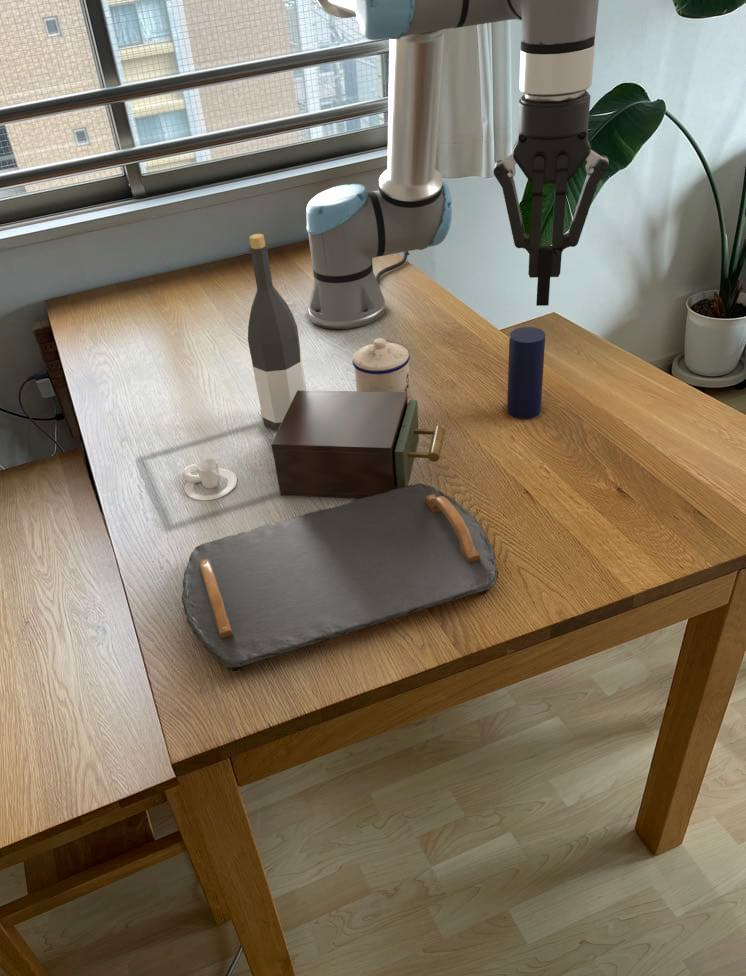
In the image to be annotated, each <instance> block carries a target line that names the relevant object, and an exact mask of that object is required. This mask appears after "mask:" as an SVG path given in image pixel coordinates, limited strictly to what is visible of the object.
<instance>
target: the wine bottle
mask: <svg viewBox="0 0 746 976" xmlns="http://www.w3.org/2000/svg"><path fill="white" fill-rule="evenodd" d="M249 243H250V245H249V252H250V256H251V261H252V262H251V263H252V267H253V272H254V273H253V274H254V278H255V284H256V292H255V294H254V298H253V301H252V304H251V307H250V314H249V320H248V326H247V343H248V349H249V353H250V358H251V365H252V369H253V374H254V381H255V385H256V390H257V395H258V402H259V405H260V413H261V417H262V422H263V425H264V426H265V427H268V428H270V429H271V430H274V431H276V432H277V431H278V429H279V427H280V425H281V423H282V421H283V419H284V417H285V415H286V413H287V411H288V409H289V407H290V405H291V403H292V400H293V398H294V396H295V394H296V392H297V391H298V390H300V391H307V386H306V378H305V371H304V365H303V357H302V351H301V343H300V337H299V330H298V324H297V322H296V320H295V316H294V315H293V312H292V311H291V309H290V307H289V305H288V304H287V302H286V300H285V299H284V298H283V297H282V296H281V294H280V293H279V292H278V290H277V289H276V287H275V286H274V285H273V284H274V283H273V278H272V272H271V266H270V265H271V264H270V261H269V260H270V259H269V254H268V253H269V252H268V244H267V243H266V241H265V236H264V234H263V233H254V234H251V235H250V236H249Z"/></svg>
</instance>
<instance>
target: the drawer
mask: <svg viewBox="0 0 746 976" xmlns="http://www.w3.org/2000/svg"><path fill="white" fill-rule="evenodd" d="M418 409H419V408H418V400H417V399H410V400H409V402H408V406H407V409H406V413H405V416H404V420H403V423H402V427H401V430H400V425H399V428H398V432H397V435H396V439H395V442H394V446H393V449H392V452H393V466H394V464H395V465H396V479H397V489H399V488H403V487H406V486H409V481H410V478H411V473H412V469H413V465H414V461H415V459H418V458H419V459H428V460H429V462H432V463H437V462H438V461H439V460H440V458H441V453H442V448H443V444H444V437H445V433H446V429H445V427H444V426H443V425H436V426H435V427H434V429H433V428H419V410H418ZM420 435H432V437H431V441H430V446H429V450H428V451H418V446H419V441H420Z"/></svg>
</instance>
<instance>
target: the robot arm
mask: <svg viewBox="0 0 746 976" xmlns="http://www.w3.org/2000/svg"><path fill="white" fill-rule="evenodd" d="M314 2H315V3H316V4H317V6H318V7H319V8H320V9H321V10H323V11H324V12H325V13H327V14H328V15H331V16H332V17H333V16H334V17H336V18H339V19H349V18H356V21H357V24H358V26H359V28H360V32H361V34H362V35H363V36H364V37H365V38H366V39H367V40H369V41H379V40H389V43H388V45H389V49H388V50H389V51H388V52H389V53H388V106H387V107H388V109H387V110H388V111H387V113H388V114H387V115H388V116H387V118H388V119H387V168H386V169H385V170H384V171H383V172H382V173H381V174H380V176H379V178H378V189H377V190H371V191H368V189H367V188H366V187H365V186H364V185H363V184H359V183H351V184H348V183H347V184H340V185H336V186H333V187H330V188H327V189H325V190H323V191H321V192H319V193H317V194H316V195H314V196H313V197H312V198H311V199H310V200H309V201H308V203H307V205H306V211H305V215H306V229H305V230H306V232H307V233H308V234H307V235H308V241H309V242H308V243H309V250H310V257H311V258H310V259H311V266H312V275H313V282H312V287H311V293H310V297H309V303H308V316H309V319H310V322H312V323H313V324H314V325H316V326H318V327H320V328H324V329H330V330H349V329H356V328H360V327H364V326H368V325H370V324H373V323H374V322H376V321H378V320H379V319H380V318H381V317H383V316H384V314H385V312H386V302H385V297H384V295H383V292H382V290H381V287H380V285H379V280H380V278H381V277H382V275H384V274H385V273H387V272H390V271H392V270H395V269H397V268H399V267H401V266H403V265H404V264H405V263H406V262H407V259H408V256H409V255H410V251H416V250H419V251H423V250H425V249H428V248H430V247H435V246H438V245H439V244H442V243H443V242H444V240H445V239H447V236H448V234H449V231H450V228H451V224H452V218H453V208H452V202H453V201H452V195H451V191H450V188H449V186H448V184H447V182H446V181H445V180H443V177H442V175H441V173H440V172H439V171H438V170H437V169H436V163H437V148H438V147H437V146H438V132H439V131H438V130H439V117H440V116H439V115H440V104H441V103H440V101H441V88H442V72H443V56H444V43H445V32H446V31H448V30H450V29H457V28H463V27H464V28H465V27H472V26H478V25H484V24H491V23H498V22H504V21H512V20H517V21H521V34H520V35H521V37H520V39H521V42H520V52H519V53H520V55H519V57H520V58H519V59H520V60H519V86H518V87H519V91H520V92H521V94H523V95H522V96H521V97H520V99H518V118H517V119H518V121H517V126H518V127H517V139H516V141H515V144H514V145H513V149H512V153H511V154H510V155H508V156H507V157H505V158H504V159H499V160H497V161H496V162H495V163H494V168H493V176H494V177H495V178H496V180H497V182H498V183H499V185H500V187H501V189H502V193H503V198H504V201H505V206H506V212H507V216H508V220H509V225H510V231H511V235H512V239H513V244H514V246H515V248H516V249H523V250H526V251H527V252H528V272H527V273H528V274H527V275H528V276H529V278H531V279H532V278H536V279H537V284H536V301H535V303H536V307H538V306H539V307H540V306H541V307H542V306H543V307H544V306H549V303H550V288H551V278H559V276H560V274H561V269H562V257H563V256H562V254H563V252H564V250H566V249H567V248H569V247H570V248H574V247H577V245H578V244H579V241H580V239H581V235H582V233H583V230H584V226H585V223H586V220H587V217H588V214H589V211H590V209H591V205H592V203H593V199H594V197H595V193H596V191H597V187H598V184H599V183H600V181H601V180H602V179H603V177H604V176H605V174H606V173H607V172H608V170H609V169H610V164H609V158H608V156H607V155H604V154H602V155H600V154H599V153H598V152H596V151H595V150H592V144H591V141H590V139H589V136H588V133H589V132H588V130H589V119H590V118H589V117H590V109H591V108H590V107H591V95H590V93H589V91H587V90H588V89H589V88H590V87H591V86H592V83H593V70H594V59H595V50H596V49H595V48H596V47H595V46H596V43H595V40H596V32H597V21H598V11H599V2H600V0H314ZM585 161H586V165H585V173H586V176H585V180H584V182H583V185H582V189H581V192H580V195H579V198H578V201H577V204H576V207H575V210H574V214H573V216H572V220H571V223H570V226H569V229H568V232H567V233H566V232H565V233H564V229H565V228H564V226H565V213H566V211H565V210H566V197H567V183H568V182H570V180H571V179H572V178H573V177H574V176H575V174H576V173H578V172H577V171H578V170H579V169H580V168H581V167H582V166H583V164H584V162H585ZM516 165H518V167H519V168H520V170H521V171H522V173H523V175H524V176H525V177H526V179H527V180H528V181H529V183H531V185H532V186H531V209H530V227H529V228H530V229H529V231H530V232H529V234H527V233H526V232H525V226H524V222H523V221H524V220H523V216H522V211H521V207H520V202H519V197H518V192H517V188H516V183H515V179H514V178H515V175H516ZM548 184H551V185H555V186H554V202H553V203H554V204H553V218H552V219H553V220H552V235H551V245H541V237H542V235H541V234H542V219H543V218H542V217H543V216H542V215H543V198H544V186H546V185H548ZM400 253H403V257H402V259H401V260H400V261H399V262H397V263H395V264H392V265H389V266H387V267H385V268H383V269H380V271H378V272H377V274H375V273H374V267H373V265H374V264H373V259H374V258H378V257H385V256H388V255H389V256H390V255H395V254H400Z"/></svg>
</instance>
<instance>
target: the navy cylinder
mask: <svg viewBox="0 0 746 976" xmlns="http://www.w3.org/2000/svg"><path fill="white" fill-rule="evenodd" d="M508 337H509V338H508V339H509V341H508V366H507V367H508V368H507V369H508V372H507V396H506V397H507V399H506V401H507V402H506V406H507V407H506V412H507V414H508V415H509V416H510V417H511V418H514V419H518V420H530V419H533V418H536V417H538V416H539V415H540V413H541V411H542V398H543V397H542V395H543V379H544V364H545V351H546V349H545V348H546V347H545V346H546V332H545V331H544V330H542V329H541V328H538V327H533V326H524V327H518V328H515V329H513V330H511V331H510V332H509V336H508Z"/></svg>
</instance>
